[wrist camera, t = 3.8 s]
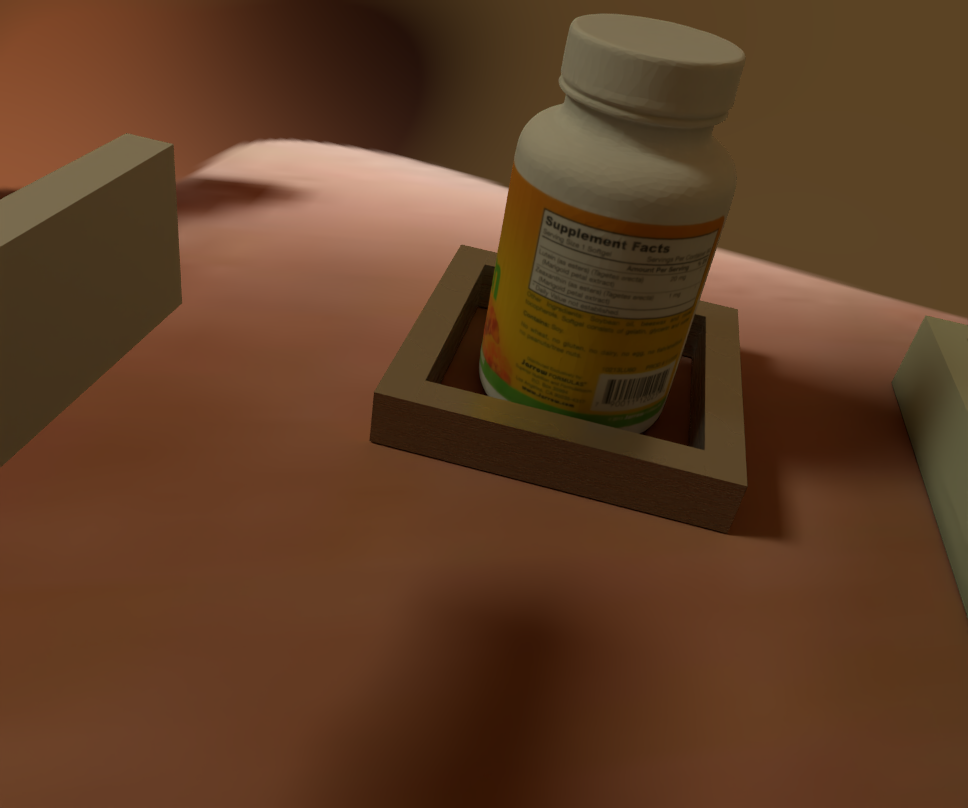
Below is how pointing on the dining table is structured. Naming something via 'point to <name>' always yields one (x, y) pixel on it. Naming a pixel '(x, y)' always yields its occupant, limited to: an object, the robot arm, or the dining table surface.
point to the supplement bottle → (612, 222)
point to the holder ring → (562, 439)
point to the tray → (940, 429)
